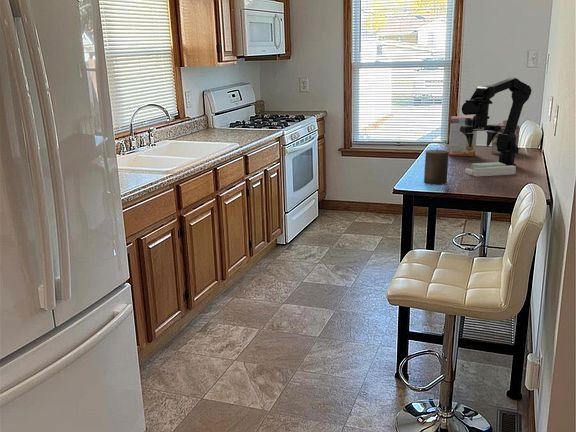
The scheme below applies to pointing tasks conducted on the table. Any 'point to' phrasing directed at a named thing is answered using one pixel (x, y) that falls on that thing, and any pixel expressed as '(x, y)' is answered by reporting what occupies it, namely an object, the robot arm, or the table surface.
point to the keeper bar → (487, 164)
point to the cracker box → (460, 138)
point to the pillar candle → (436, 167)
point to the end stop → (491, 171)
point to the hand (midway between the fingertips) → (478, 146)
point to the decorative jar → (502, 125)
